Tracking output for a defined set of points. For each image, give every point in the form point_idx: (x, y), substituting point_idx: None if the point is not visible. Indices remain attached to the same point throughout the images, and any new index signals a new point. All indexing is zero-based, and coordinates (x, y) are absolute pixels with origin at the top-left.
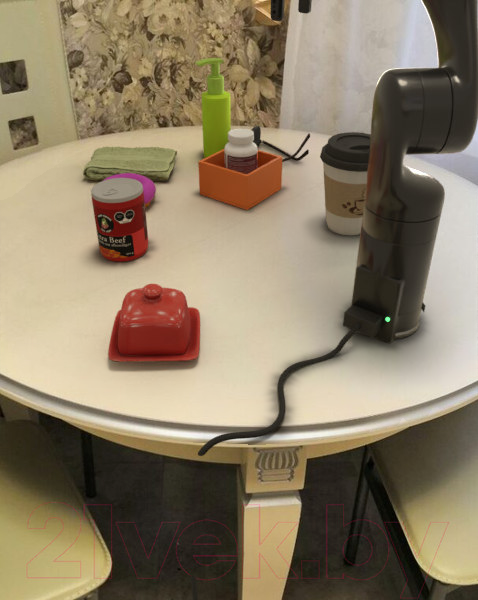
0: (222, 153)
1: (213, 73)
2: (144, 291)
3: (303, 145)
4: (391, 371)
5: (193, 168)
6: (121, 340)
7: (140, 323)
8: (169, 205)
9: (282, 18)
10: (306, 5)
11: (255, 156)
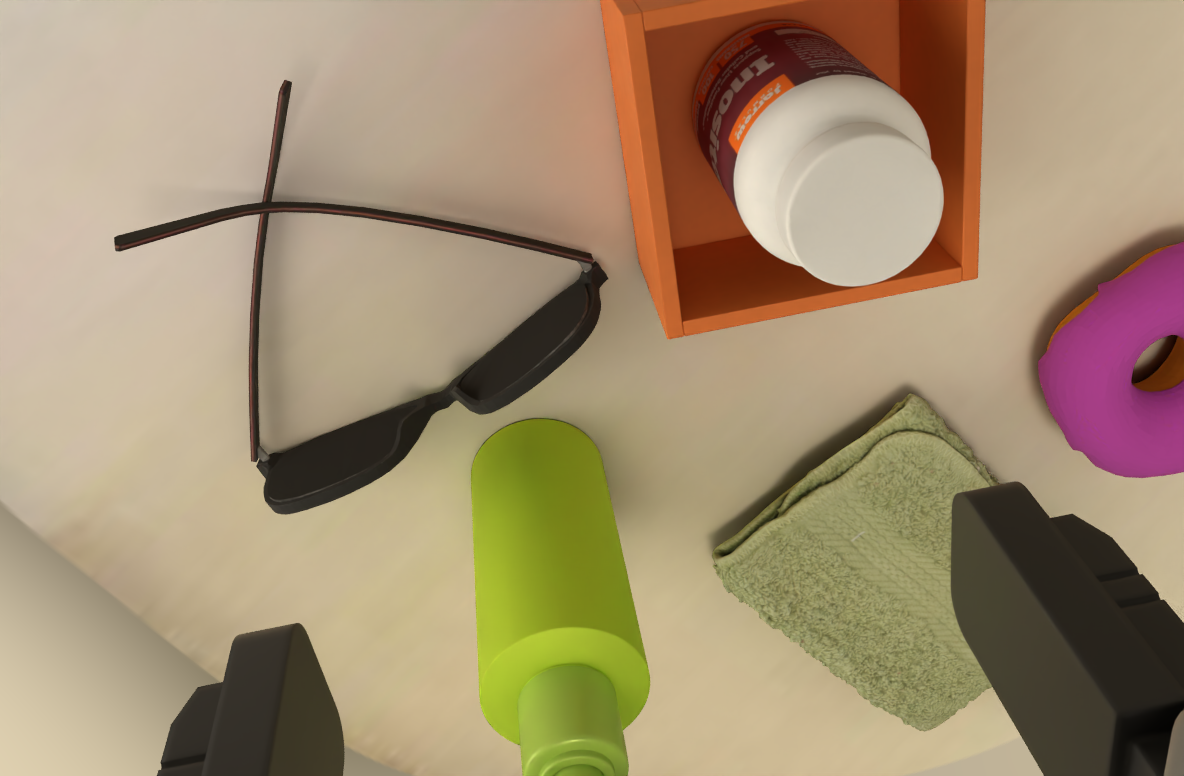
0: (794, 294)
1: None
2: None
3: (182, 220)
4: None
5: (718, 433)
6: None
7: None
8: (1072, 212)
9: (1013, 489)
10: (294, 723)
11: (812, 73)
